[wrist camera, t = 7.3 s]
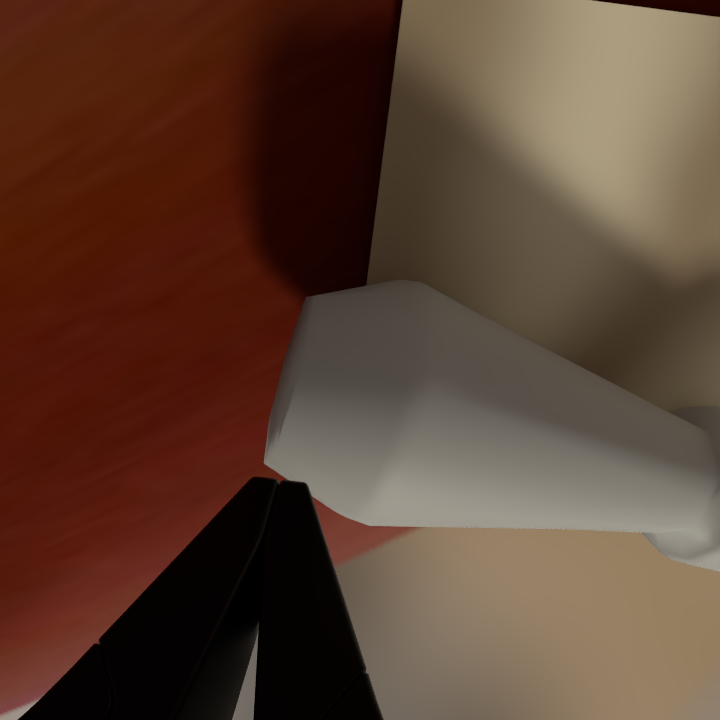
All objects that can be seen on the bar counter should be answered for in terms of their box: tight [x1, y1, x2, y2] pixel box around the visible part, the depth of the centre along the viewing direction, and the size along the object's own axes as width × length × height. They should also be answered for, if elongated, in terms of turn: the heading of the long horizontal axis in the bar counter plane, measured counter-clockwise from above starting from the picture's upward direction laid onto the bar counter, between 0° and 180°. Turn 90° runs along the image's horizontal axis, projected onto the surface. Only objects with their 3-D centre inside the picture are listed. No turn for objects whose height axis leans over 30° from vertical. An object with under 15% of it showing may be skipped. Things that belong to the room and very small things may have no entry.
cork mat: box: [366, 0, 720, 413], centre depth 17 cm, size 14×14×1 cm
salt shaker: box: [264, 279, 720, 571], centre depth 15 cm, size 6×6×13 cm
